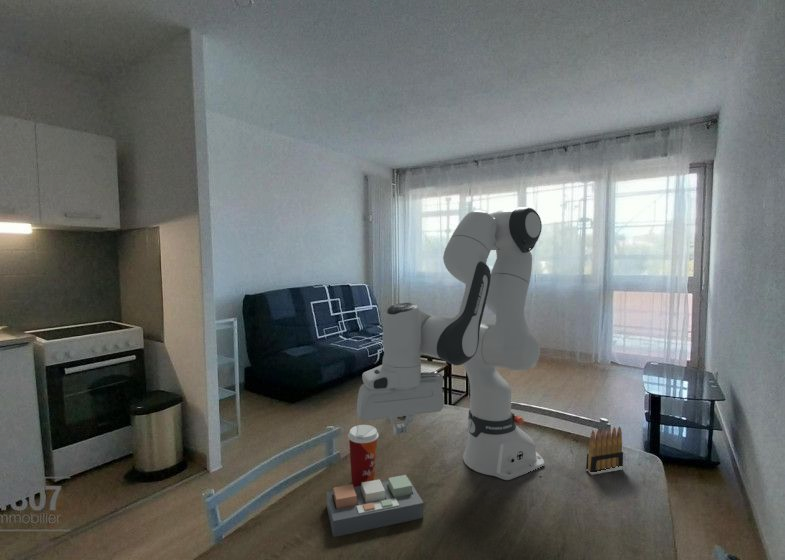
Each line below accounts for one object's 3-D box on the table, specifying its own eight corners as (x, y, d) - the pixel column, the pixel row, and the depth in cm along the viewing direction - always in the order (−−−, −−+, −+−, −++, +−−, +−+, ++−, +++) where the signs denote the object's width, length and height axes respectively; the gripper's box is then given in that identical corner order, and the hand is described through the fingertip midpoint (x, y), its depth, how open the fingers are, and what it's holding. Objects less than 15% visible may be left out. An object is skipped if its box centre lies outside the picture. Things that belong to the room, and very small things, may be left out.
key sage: (405, 484, 91) (405, 474, 91) (412, 495, 87) (412, 485, 87) (388, 487, 90) (388, 477, 90) (393, 499, 86) (393, 488, 86)
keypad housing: (407, 490, 94) (408, 475, 93) (423, 517, 84) (423, 500, 84) (326, 506, 88) (326, 489, 87) (333, 537, 78) (333, 518, 78)
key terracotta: (352, 494, 88) (352, 484, 87) (356, 506, 83) (356, 495, 83) (333, 497, 86) (333, 487, 86) (336, 510, 82) (336, 499, 82)
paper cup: (373, 495, 92) (374, 439, 91) (343, 491, 93) (343, 436, 92) (381, 476, 100) (381, 425, 99) (353, 473, 101) (353, 422, 100)
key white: (379, 489, 89) (379, 479, 89) (384, 500, 85) (385, 490, 85) (361, 492, 88) (361, 482, 88) (365, 504, 84) (365, 494, 84)
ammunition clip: (590, 475, 101) (592, 432, 100) (585, 471, 103) (587, 429, 102) (623, 470, 104) (625, 427, 103) (617, 466, 106) (619, 424, 105)
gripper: (437, 366, 93) (436, 421, 94) (355, 374, 87) (355, 432, 88) (448, 374, 87) (447, 433, 88) (361, 383, 81) (361, 445, 82)
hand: (400, 433), depth 88 cm, fingers closed
